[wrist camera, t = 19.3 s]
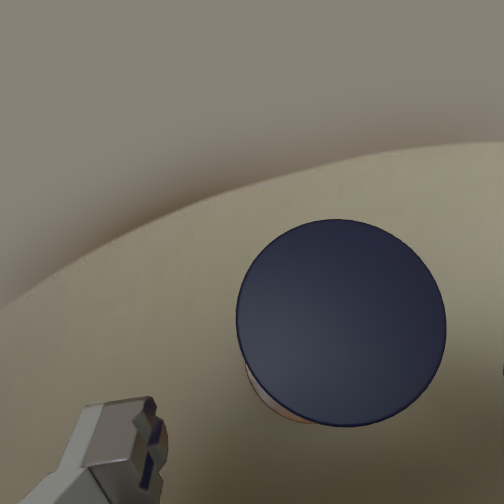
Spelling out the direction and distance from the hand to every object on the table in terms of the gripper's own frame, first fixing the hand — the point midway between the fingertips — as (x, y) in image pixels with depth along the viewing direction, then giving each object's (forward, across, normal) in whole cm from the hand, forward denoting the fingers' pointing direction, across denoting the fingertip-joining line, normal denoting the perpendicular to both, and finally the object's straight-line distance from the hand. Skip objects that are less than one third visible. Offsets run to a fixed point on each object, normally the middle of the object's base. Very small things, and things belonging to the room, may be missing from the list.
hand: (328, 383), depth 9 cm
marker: (+8, 0, +7) cm, 11 cm away
